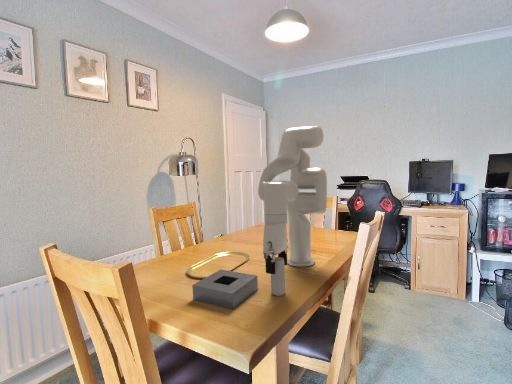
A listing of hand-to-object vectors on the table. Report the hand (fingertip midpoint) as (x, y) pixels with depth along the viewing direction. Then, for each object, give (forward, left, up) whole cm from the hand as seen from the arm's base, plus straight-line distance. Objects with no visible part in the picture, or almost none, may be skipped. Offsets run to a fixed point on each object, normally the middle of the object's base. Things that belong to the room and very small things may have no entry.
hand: (276, 268), depth 98 cm
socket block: (+7, -16, -9) cm, 20 cm away
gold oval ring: (-17, -36, -9) cm, 41 cm away
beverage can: (-1, 0, -9) cm, 9 cm away
